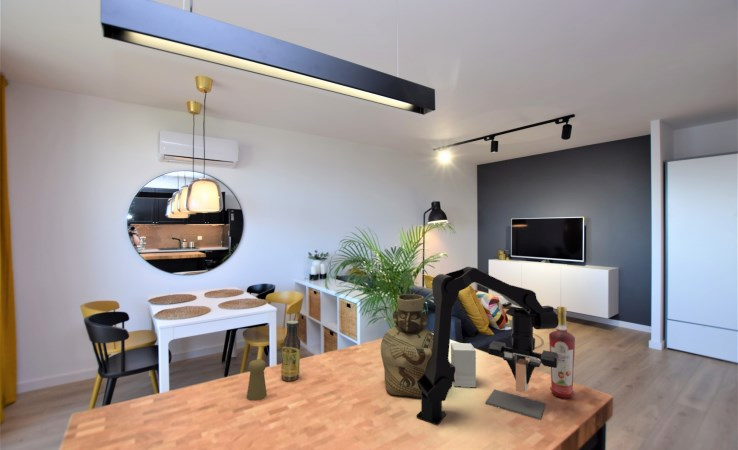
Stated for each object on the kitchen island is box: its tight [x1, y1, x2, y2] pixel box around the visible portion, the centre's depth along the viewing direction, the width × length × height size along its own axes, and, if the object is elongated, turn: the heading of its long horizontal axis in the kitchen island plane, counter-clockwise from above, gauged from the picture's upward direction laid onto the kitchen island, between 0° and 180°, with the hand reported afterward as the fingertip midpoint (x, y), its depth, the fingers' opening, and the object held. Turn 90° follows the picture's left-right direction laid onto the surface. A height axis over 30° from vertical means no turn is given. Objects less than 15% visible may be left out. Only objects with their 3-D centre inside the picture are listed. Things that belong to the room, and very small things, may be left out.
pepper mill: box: [246, 358, 268, 402], centre depth 107 cm, size 6×6×11 cm
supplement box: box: [450, 342, 477, 388], centre depth 117 cm, size 7×7×13 cm
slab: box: [515, 358, 530, 394], centre depth 102 cm, size 5×3×8 cm, turn 145°
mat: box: [485, 388, 546, 420], centre depth 103 cm, size 10×15×1 cm, turn 55°
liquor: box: [548, 306, 576, 399], centre depth 109 cm, size 7×7×28 cm
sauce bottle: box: [280, 320, 301, 382], centre depth 120 cm, size 6×6×20 cm
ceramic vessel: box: [380, 293, 434, 398], centre depth 114 cm, size 19×21×30 cm
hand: (522, 382), depth 102 cm, fingers closed on slab, 3 cm apart
